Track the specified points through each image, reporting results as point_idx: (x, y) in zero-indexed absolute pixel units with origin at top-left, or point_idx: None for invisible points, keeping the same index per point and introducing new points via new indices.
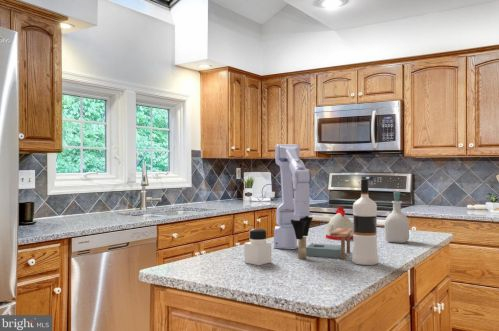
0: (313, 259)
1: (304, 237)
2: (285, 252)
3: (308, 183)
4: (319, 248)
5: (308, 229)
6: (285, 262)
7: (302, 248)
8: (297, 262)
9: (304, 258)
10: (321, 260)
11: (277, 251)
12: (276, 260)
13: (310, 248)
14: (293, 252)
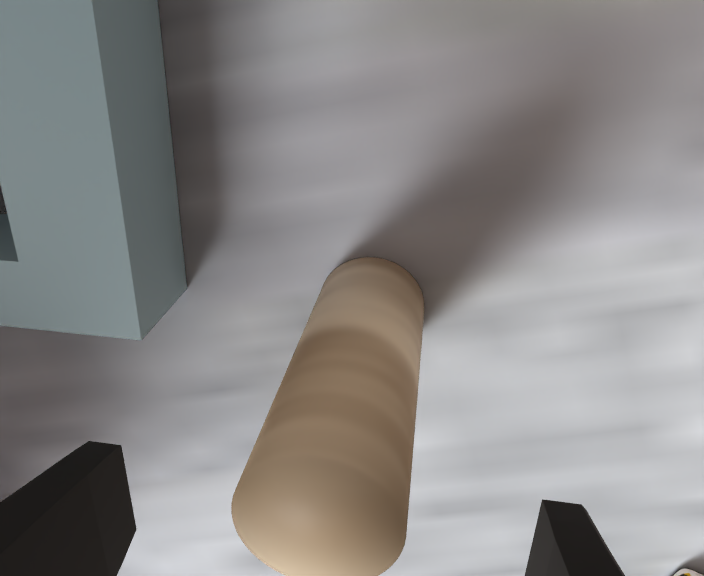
0: (393, 151)
1: (361, 478)
2: (139, 502)
3: None
4: (99, 126)
5: (3, 544)
6: (660, 444)
7: (414, 373)
8: (638, 321)
9: (406, 274)
10: (428, 16)
11: (132, 567)
12: None
13: (135, 271)
14: (97, 434)
